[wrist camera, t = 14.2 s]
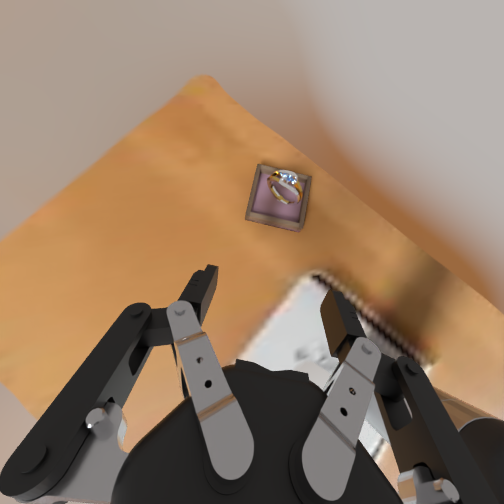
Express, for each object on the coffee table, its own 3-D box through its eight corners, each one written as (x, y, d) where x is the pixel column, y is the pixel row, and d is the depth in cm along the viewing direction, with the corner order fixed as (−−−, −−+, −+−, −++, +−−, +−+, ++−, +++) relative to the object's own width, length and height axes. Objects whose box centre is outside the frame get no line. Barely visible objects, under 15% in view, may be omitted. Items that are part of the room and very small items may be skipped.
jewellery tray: (307, 183, 41) (311, 176, 38) (298, 232, 38) (303, 228, 36) (256, 171, 40) (257, 163, 38) (244, 219, 38) (245, 214, 36)
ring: (261, 193, 38) (267, 168, 31) (272, 183, 39) (280, 156, 31) (286, 217, 38) (299, 198, 30) (297, 206, 38) (312, 185, 31)
